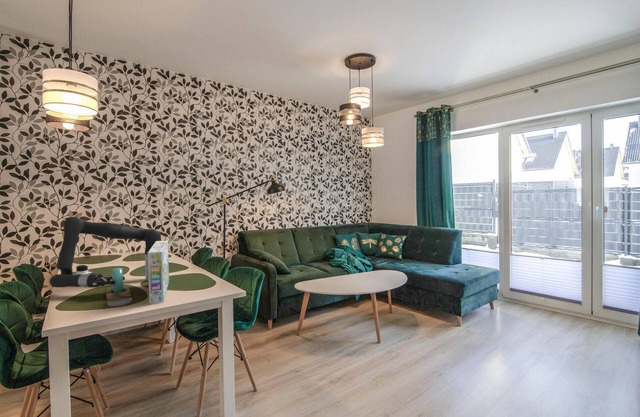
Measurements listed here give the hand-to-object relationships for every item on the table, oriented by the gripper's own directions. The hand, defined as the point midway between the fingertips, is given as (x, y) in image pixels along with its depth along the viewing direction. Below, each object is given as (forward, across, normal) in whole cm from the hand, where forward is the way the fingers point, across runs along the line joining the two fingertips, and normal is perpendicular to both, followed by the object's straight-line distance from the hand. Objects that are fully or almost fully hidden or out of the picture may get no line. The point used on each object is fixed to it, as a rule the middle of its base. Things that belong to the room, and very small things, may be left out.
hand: (119, 280), depth 177 cm
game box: (+19, +6, +9) cm, 22 cm away
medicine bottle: (-38, +23, +9) cm, 45 cm away
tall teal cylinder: (-1, 0, +8) cm, 9 cm away
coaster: (+8, -12, +8) cm, 17 cm away
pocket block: (-1, 0, +8) cm, 9 cm away
